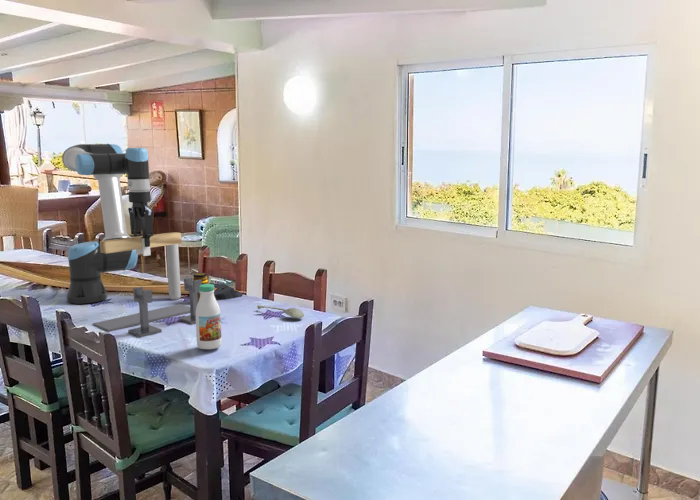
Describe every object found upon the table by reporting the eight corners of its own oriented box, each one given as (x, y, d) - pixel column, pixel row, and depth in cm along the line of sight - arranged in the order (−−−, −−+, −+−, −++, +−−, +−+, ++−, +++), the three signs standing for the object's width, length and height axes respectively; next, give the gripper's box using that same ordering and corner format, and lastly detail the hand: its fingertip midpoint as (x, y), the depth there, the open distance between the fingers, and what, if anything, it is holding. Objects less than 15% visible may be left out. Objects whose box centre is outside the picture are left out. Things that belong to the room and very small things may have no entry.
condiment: (212, 300, 251) (211, 272, 249) (203, 306, 243) (202, 276, 241) (196, 300, 253) (194, 272, 251) (187, 305, 244) (185, 276, 242)
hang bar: (100, 252, 212) (99, 241, 211) (175, 242, 234) (175, 232, 233) (106, 253, 209) (105, 242, 208) (181, 243, 231) (181, 233, 230)
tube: (183, 300, 252) (180, 241, 248) (171, 302, 249) (168, 242, 245) (178, 297, 256) (175, 239, 252) (166, 299, 253) (163, 240, 249)
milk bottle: (192, 348, 191) (188, 286, 188) (206, 341, 198) (203, 281, 195) (212, 351, 189) (210, 288, 185) (226, 343, 196) (223, 283, 192)
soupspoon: (295, 321, 223) (307, 317, 228) (295, 313, 222) (307, 309, 228) (252, 310, 236) (264, 306, 241) (252, 302, 235) (264, 298, 240)
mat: (92, 325, 217) (92, 323, 217) (180, 305, 243) (180, 303, 243) (108, 332, 209) (108, 329, 209) (197, 311, 235) (197, 309, 235)
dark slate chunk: (223, 288, 276) (223, 277, 275) (245, 297, 258) (244, 286, 258) (191, 292, 267) (191, 282, 267) (211, 302, 250) (210, 291, 249)
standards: (128, 332, 208) (125, 289, 205) (197, 315, 228) (195, 276, 226) (140, 337, 203) (137, 292, 200) (210, 319, 223) (208, 279, 221)
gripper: (117, 190, 221) (122, 253, 225) (141, 192, 210) (146, 258, 213) (136, 189, 226) (140, 251, 230) (161, 191, 215) (165, 255, 219)
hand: (143, 254), depth 222 cm, fingers closed on hang bar, 4 cm apart
